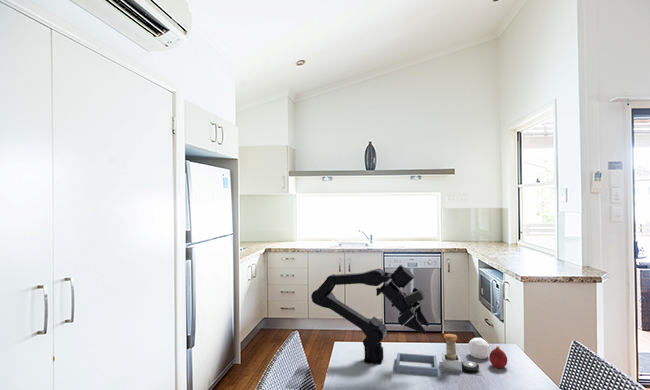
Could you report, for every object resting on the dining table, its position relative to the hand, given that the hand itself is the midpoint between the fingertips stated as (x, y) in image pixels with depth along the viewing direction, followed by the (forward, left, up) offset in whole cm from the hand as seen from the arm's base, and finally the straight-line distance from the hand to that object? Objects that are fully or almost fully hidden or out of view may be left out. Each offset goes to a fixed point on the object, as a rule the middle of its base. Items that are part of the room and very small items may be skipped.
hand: (427, 329), depth 132 cm
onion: (+24, +3, -14) cm, 28 cm away
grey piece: (+10, -1, -13) cm, 17 cm away
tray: (-4, -2, -13) cm, 14 cm away
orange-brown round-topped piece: (+8, -1, -12) cm, 15 cm away
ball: (+19, +12, -14) cm, 26 cm away
